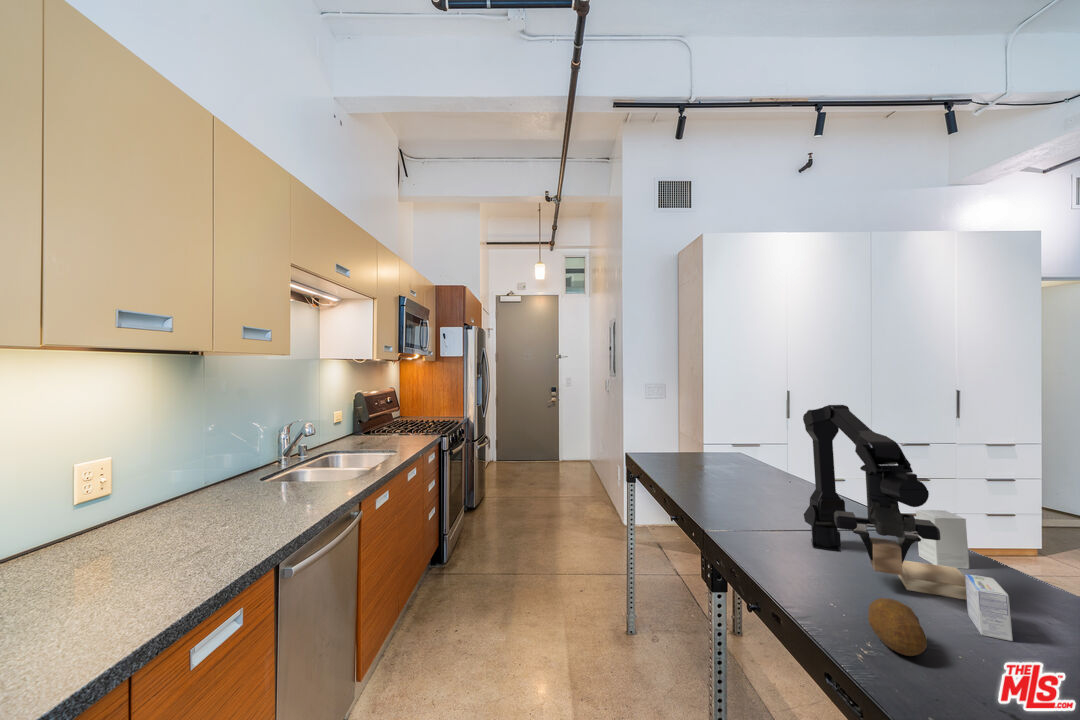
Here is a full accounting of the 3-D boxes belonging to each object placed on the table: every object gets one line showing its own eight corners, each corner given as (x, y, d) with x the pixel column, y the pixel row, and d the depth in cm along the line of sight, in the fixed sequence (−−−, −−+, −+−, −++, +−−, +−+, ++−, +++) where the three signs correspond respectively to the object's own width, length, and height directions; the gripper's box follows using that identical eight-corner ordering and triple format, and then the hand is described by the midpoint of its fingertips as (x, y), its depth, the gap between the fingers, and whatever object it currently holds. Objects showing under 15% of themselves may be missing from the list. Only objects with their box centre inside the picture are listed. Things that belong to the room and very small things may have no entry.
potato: (892, 664, 75) (889, 618, 75) (854, 624, 87) (851, 584, 87) (946, 669, 73) (943, 622, 74) (899, 627, 85) (897, 587, 86)
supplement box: (970, 569, 109) (967, 518, 109) (936, 567, 110) (933, 517, 111) (949, 557, 116) (946, 509, 116) (917, 555, 117) (914, 508, 118)
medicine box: (1013, 642, 80) (1010, 595, 80) (980, 635, 82) (977, 589, 82) (997, 621, 86) (994, 577, 87) (967, 615, 89) (964, 572, 89)
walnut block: (874, 571, 99) (873, 544, 99) (870, 562, 103) (869, 537, 103) (902, 575, 96) (901, 548, 97) (897, 566, 101) (895, 540, 101)
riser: (906, 589, 100) (906, 577, 100) (894, 568, 110) (893, 558, 110) (977, 601, 94) (976, 588, 94) (957, 578, 104) (956, 566, 104)
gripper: (838, 498, 98) (841, 568, 97) (947, 508, 89) (951, 585, 88) (832, 486, 108) (835, 550, 107) (930, 495, 99) (934, 564, 98)
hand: (885, 561), depth 100 cm, fingers closed on walnut block, 5 cm apart
